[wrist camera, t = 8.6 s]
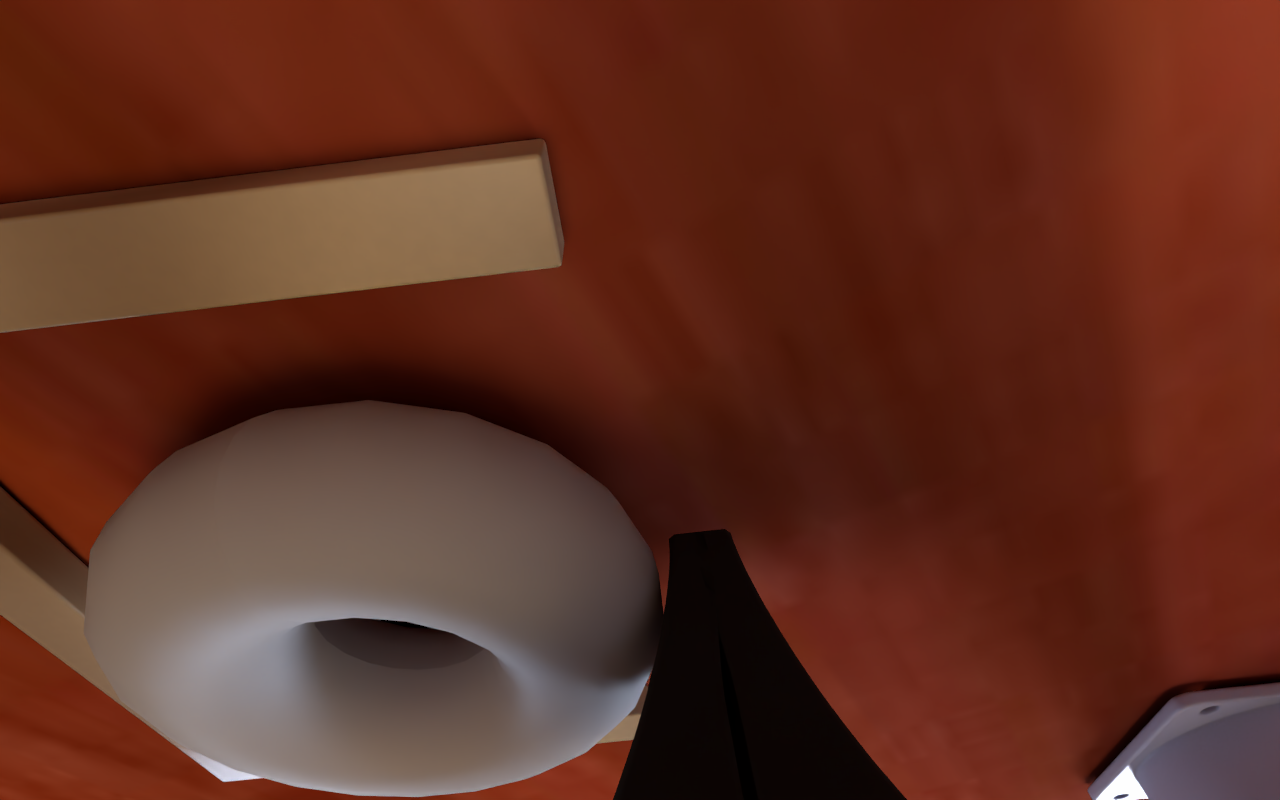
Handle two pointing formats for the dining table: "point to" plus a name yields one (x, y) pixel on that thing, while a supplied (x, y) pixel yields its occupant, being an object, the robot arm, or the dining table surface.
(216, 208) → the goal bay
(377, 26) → the dining table surface
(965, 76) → the dining table surface
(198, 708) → the donut
